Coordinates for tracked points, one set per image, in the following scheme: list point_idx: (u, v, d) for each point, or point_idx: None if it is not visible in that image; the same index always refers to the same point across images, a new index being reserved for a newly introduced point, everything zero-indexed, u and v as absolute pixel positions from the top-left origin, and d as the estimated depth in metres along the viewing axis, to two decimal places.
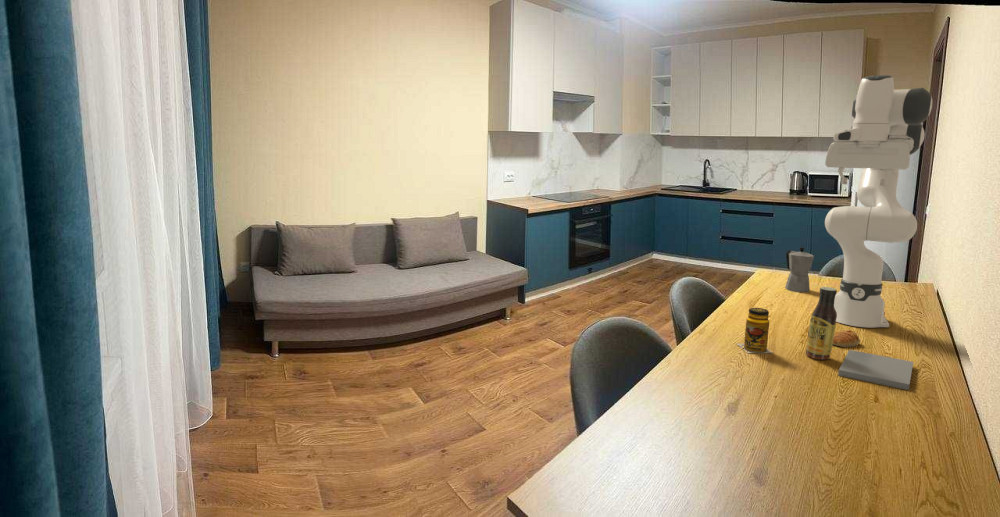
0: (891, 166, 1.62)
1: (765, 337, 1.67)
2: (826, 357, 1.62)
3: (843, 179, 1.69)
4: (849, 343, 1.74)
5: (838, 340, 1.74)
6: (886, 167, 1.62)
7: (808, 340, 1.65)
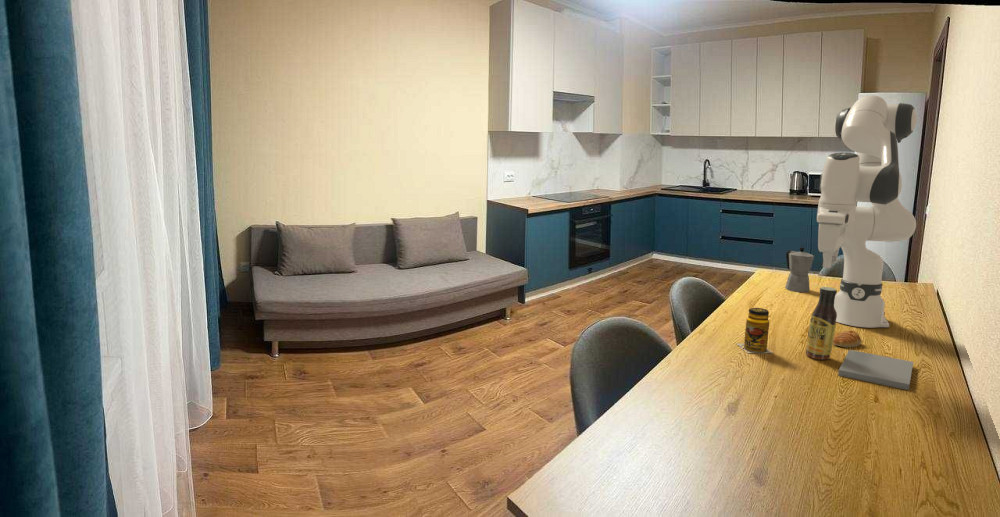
0: (842, 243, 1.63)
1: (765, 337, 1.67)
2: (826, 357, 1.62)
3: None
4: (851, 343, 1.74)
5: (840, 341, 1.74)
6: (841, 245, 1.62)
7: (808, 340, 1.65)
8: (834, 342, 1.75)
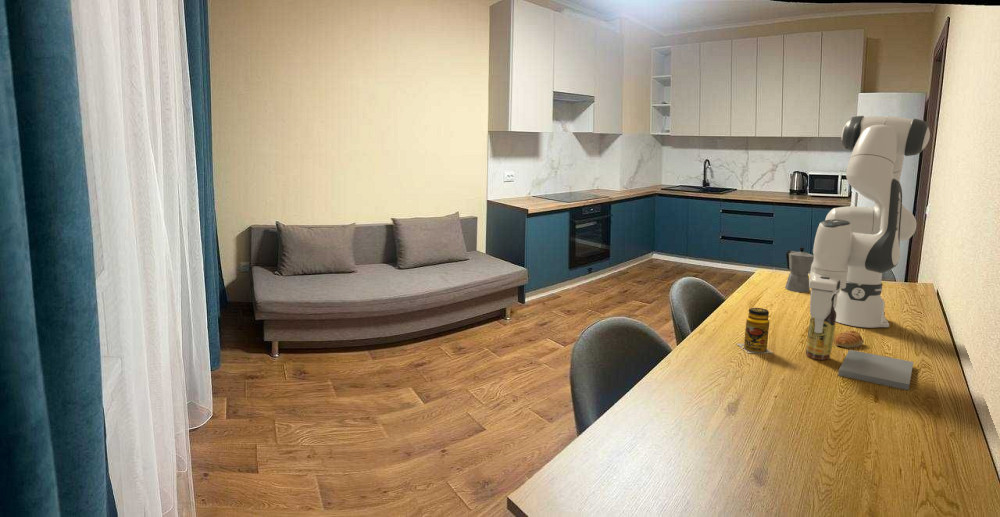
0: (834, 307, 1.65)
1: (765, 337, 1.67)
2: (826, 357, 1.62)
3: (822, 328, 1.58)
4: (854, 344, 1.73)
5: (842, 341, 1.74)
6: None
7: (808, 340, 1.64)
8: (836, 342, 1.75)
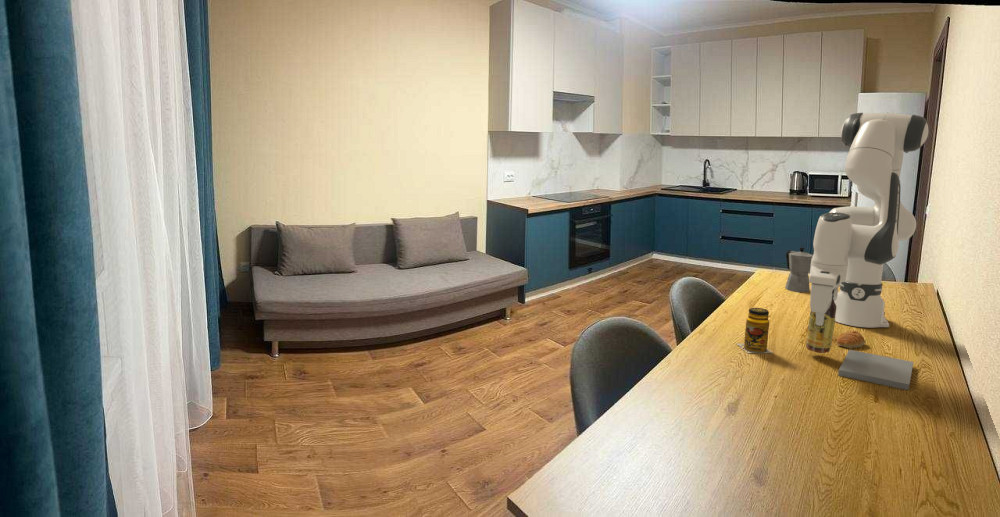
0: (835, 299, 1.66)
1: (765, 337, 1.67)
2: (826, 350, 1.63)
3: (823, 320, 1.60)
4: (856, 344, 1.73)
5: (845, 342, 1.73)
6: (834, 301, 1.66)
7: (808, 333, 1.65)
8: (838, 343, 1.75)
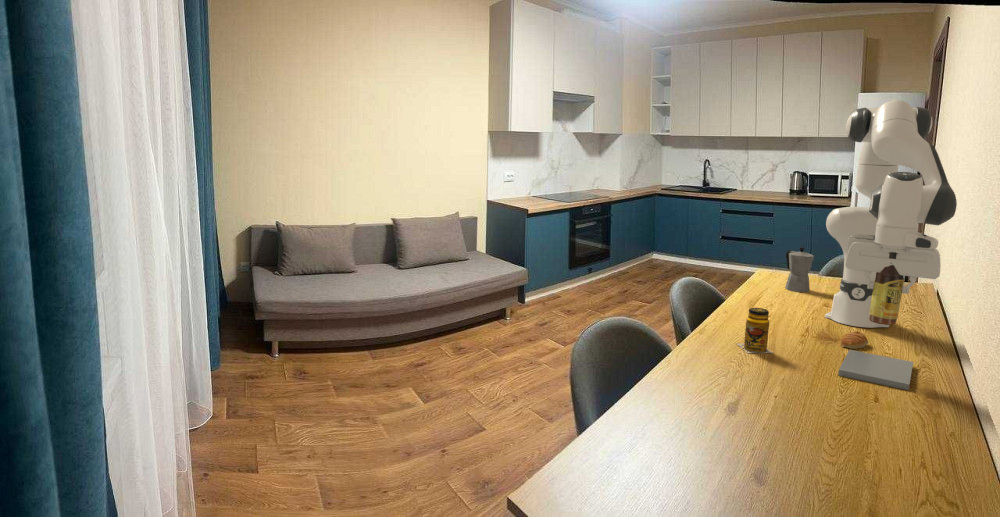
0: None
1: (765, 337, 1.67)
2: None
3: None
4: (860, 345, 1.73)
5: (849, 342, 1.73)
6: None
7: (891, 308, 1.49)
8: (842, 344, 1.74)
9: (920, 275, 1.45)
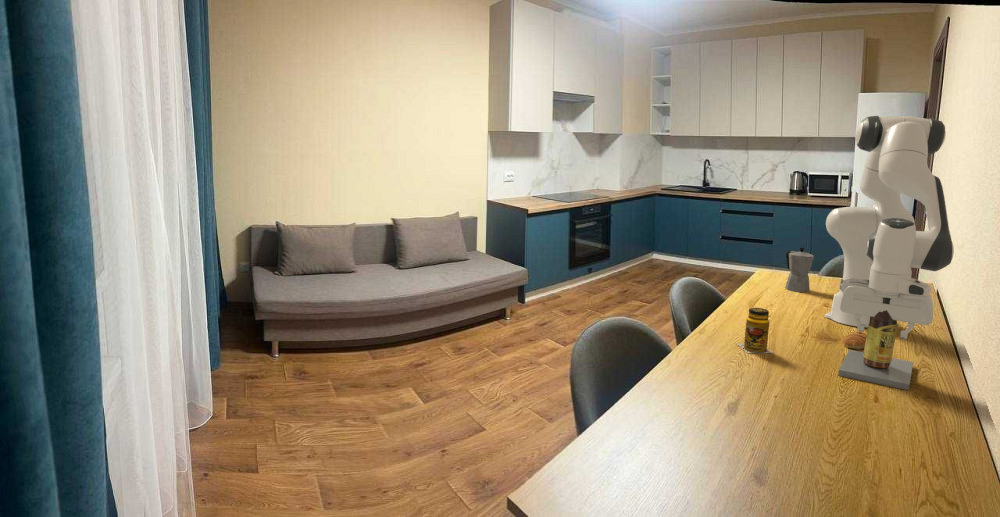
0: None
1: (765, 337, 1.67)
2: None
3: None
4: (863, 345, 1.72)
5: (853, 343, 1.72)
6: None
7: (885, 352, 1.51)
8: (846, 344, 1.74)
9: (914, 321, 1.47)
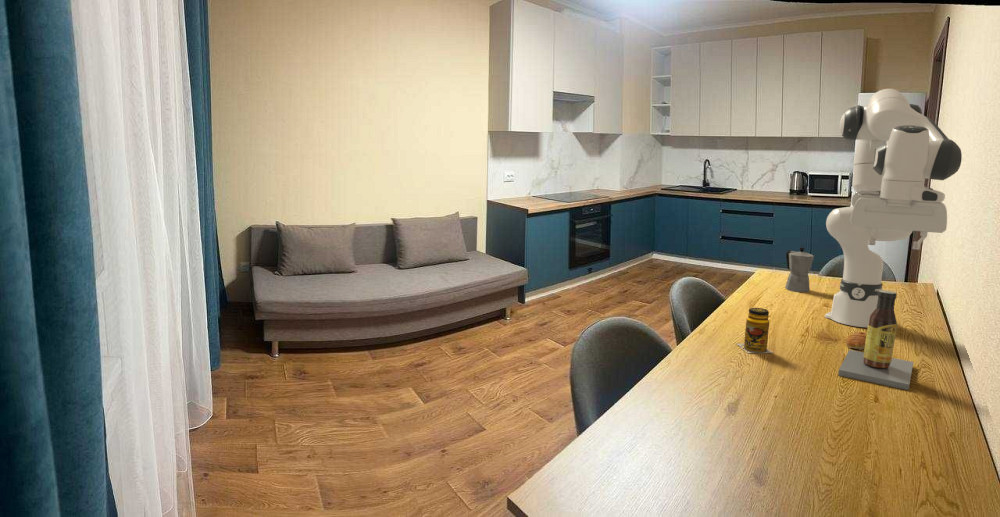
0: None
1: (765, 337, 1.67)
2: None
3: None
4: None
5: (855, 343, 1.72)
6: None
7: (885, 352, 1.51)
8: (849, 345, 1.73)
9: (927, 229, 1.44)
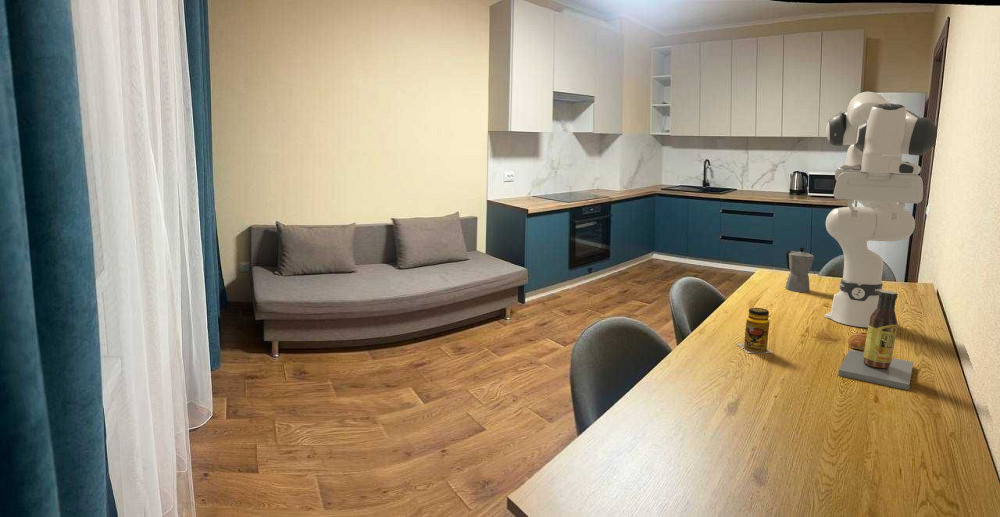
0: None
1: (765, 337, 1.67)
2: None
3: None
4: None
5: (858, 344, 1.72)
6: None
7: (885, 352, 1.51)
8: (851, 345, 1.73)
9: (904, 200, 1.53)
